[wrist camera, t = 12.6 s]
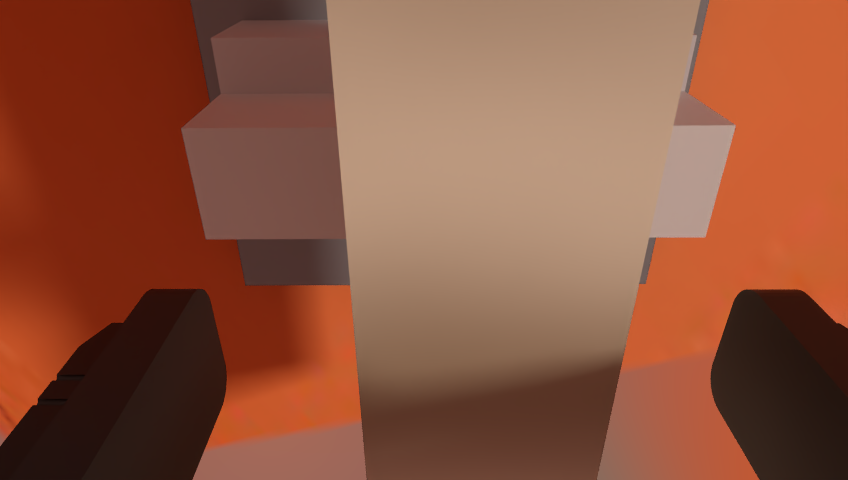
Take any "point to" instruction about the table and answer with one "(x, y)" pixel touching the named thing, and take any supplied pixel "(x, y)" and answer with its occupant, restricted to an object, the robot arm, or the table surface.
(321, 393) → the table surface
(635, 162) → the ash bar
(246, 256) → the ridge stand
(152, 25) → the table surface
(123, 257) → the table surface
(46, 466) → the robot arm
